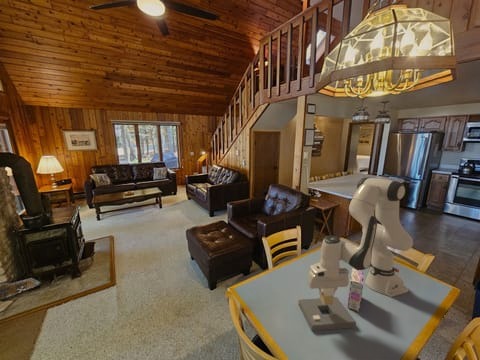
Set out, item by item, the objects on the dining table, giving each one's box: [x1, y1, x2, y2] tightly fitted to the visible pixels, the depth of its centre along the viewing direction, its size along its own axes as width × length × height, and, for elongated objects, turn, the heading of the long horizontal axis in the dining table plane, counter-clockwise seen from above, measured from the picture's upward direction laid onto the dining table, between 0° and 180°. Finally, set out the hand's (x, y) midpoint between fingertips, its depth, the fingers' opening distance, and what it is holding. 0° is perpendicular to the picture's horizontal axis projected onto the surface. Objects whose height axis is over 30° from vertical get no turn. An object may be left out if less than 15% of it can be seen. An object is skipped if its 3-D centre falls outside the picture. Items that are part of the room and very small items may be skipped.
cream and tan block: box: [319, 287, 335, 305], centre depth 102 cm, size 4×4×9 cm
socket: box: [298, 296, 357, 332], centre depth 104 cm, size 22×16×4 cm
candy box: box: [347, 267, 364, 313], centre depth 112 cm, size 14×6×16 cm, turn 148°
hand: (326, 293), depth 102 cm, fingers closed on cream and tan block, 4 cm apart
